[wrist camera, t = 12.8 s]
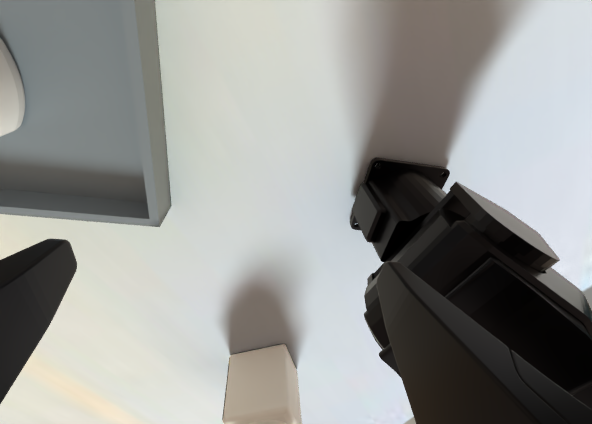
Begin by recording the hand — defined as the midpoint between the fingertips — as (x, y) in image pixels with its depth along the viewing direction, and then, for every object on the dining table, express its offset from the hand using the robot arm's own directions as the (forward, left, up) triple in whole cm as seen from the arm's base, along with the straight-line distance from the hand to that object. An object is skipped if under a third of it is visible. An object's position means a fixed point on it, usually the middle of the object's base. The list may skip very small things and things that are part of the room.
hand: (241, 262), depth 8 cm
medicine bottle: (-4, +30, -13) cm, 33 cm away
